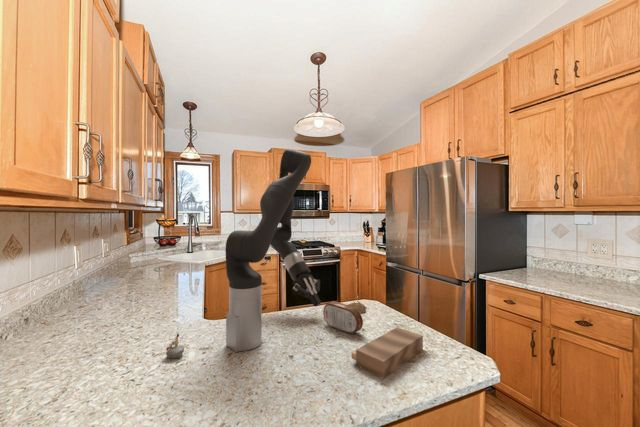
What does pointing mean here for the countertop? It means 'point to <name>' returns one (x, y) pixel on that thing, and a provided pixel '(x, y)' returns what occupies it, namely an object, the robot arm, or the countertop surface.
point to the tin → (343, 317)
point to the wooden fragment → (358, 307)
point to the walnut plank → (388, 352)
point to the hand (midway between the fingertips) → (318, 305)
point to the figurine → (174, 349)
